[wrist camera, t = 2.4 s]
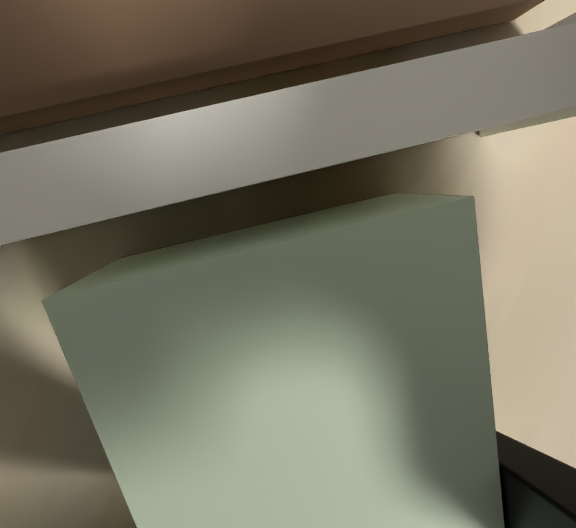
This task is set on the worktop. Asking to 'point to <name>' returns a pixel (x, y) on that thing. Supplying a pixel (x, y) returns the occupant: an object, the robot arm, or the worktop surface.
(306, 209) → the worktop surface
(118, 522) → the worktop surface
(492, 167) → the worktop surface
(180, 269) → the board
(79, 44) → the peg stand
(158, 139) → the u-shaped frame
